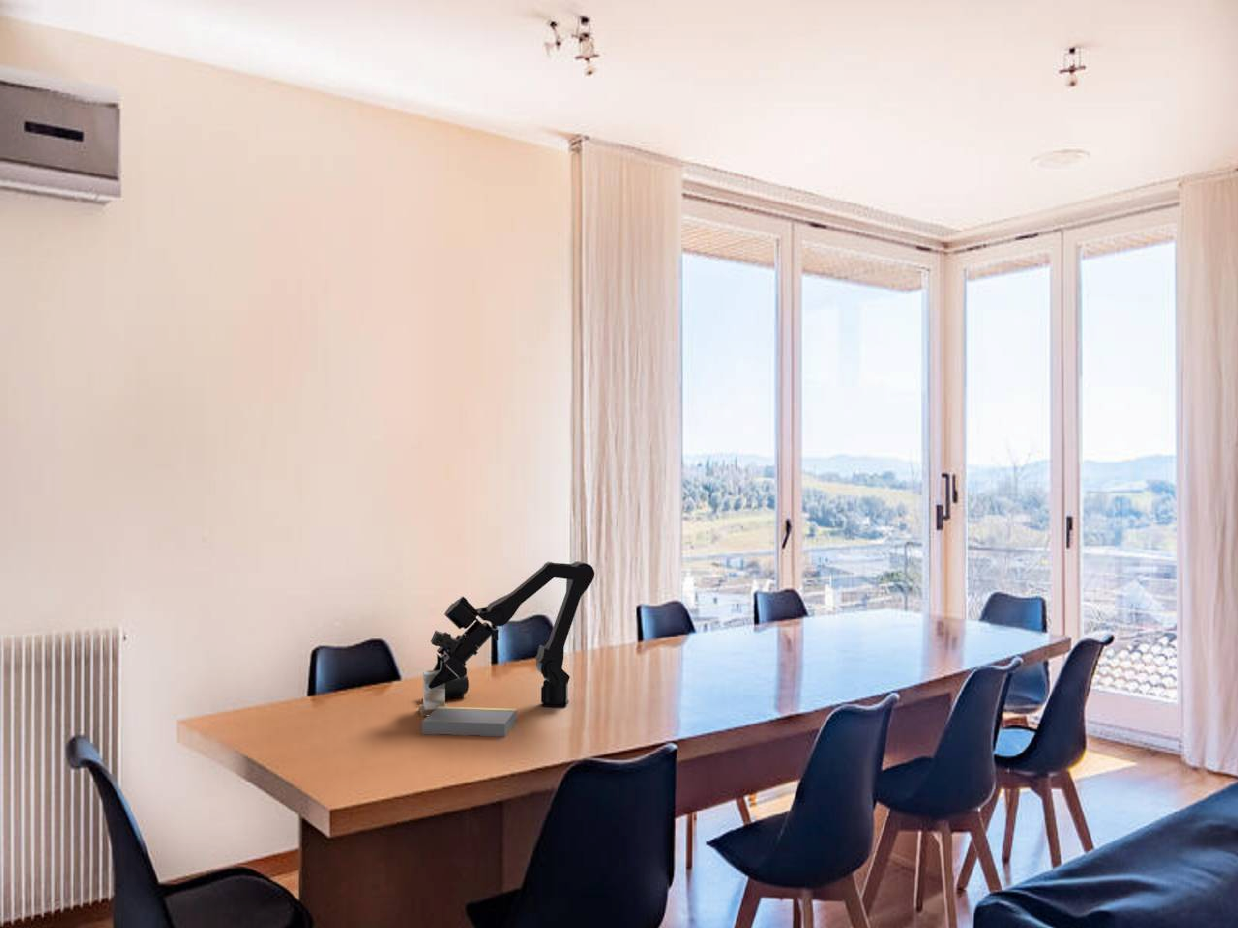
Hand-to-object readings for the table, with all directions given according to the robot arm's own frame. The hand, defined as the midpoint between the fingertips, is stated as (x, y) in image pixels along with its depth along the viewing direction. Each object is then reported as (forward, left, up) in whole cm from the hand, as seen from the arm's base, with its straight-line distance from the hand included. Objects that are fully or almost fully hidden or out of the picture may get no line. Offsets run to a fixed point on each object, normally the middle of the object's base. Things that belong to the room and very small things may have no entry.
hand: (428, 685), depth 242 cm
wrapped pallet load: (-1, -1, -7) cm, 7 cm away
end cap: (0, -17, -7) cm, 19 cm away
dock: (-14, +12, -7) cm, 20 cm away
